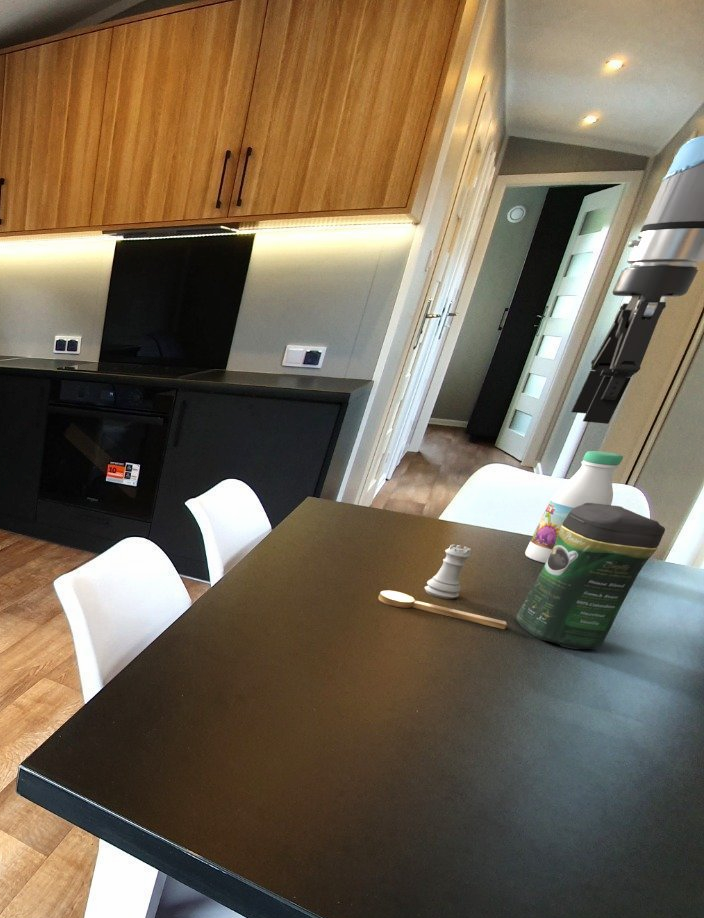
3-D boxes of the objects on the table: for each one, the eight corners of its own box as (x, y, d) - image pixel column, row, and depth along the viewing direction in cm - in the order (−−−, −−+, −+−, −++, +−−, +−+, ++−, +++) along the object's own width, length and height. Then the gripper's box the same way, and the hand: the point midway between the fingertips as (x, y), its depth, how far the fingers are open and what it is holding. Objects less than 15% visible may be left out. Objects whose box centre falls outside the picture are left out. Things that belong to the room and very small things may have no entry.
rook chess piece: (459, 594, 102) (479, 547, 98) (456, 602, 99) (477, 554, 95) (425, 586, 105) (444, 540, 101) (421, 593, 102) (440, 547, 98)
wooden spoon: (503, 622, 93) (506, 616, 92) (505, 633, 90) (508, 627, 89) (379, 593, 101) (381, 587, 101) (377, 602, 98) (379, 596, 98)
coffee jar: (610, 656, 84) (688, 523, 76) (536, 645, 87) (605, 514, 79) (571, 626, 92) (638, 503, 84) (504, 616, 95) (563, 495, 87)
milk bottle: (573, 559, 119) (628, 452, 110) (585, 571, 113) (644, 460, 104) (519, 550, 123) (569, 446, 114) (528, 562, 117) (581, 453, 108)
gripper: (609, 270, 102) (548, 407, 111) (642, 260, 84) (566, 423, 93) (677, 270, 97) (608, 412, 107) (727, 259, 80) (638, 430, 89)
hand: (588, 417), depth 100 cm, fingers open, 13 cm apart
